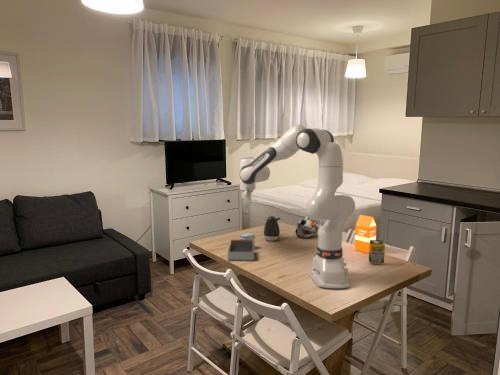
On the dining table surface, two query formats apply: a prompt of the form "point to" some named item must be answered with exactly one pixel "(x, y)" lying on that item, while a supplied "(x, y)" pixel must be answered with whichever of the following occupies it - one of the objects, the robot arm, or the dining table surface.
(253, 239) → the medicine box
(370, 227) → the orange juice
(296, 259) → the dining table surface
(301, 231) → the lucky cat figurine
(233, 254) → the metal drawer
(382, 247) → the crayon box
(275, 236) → the pump dispenser
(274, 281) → the dining table surface
